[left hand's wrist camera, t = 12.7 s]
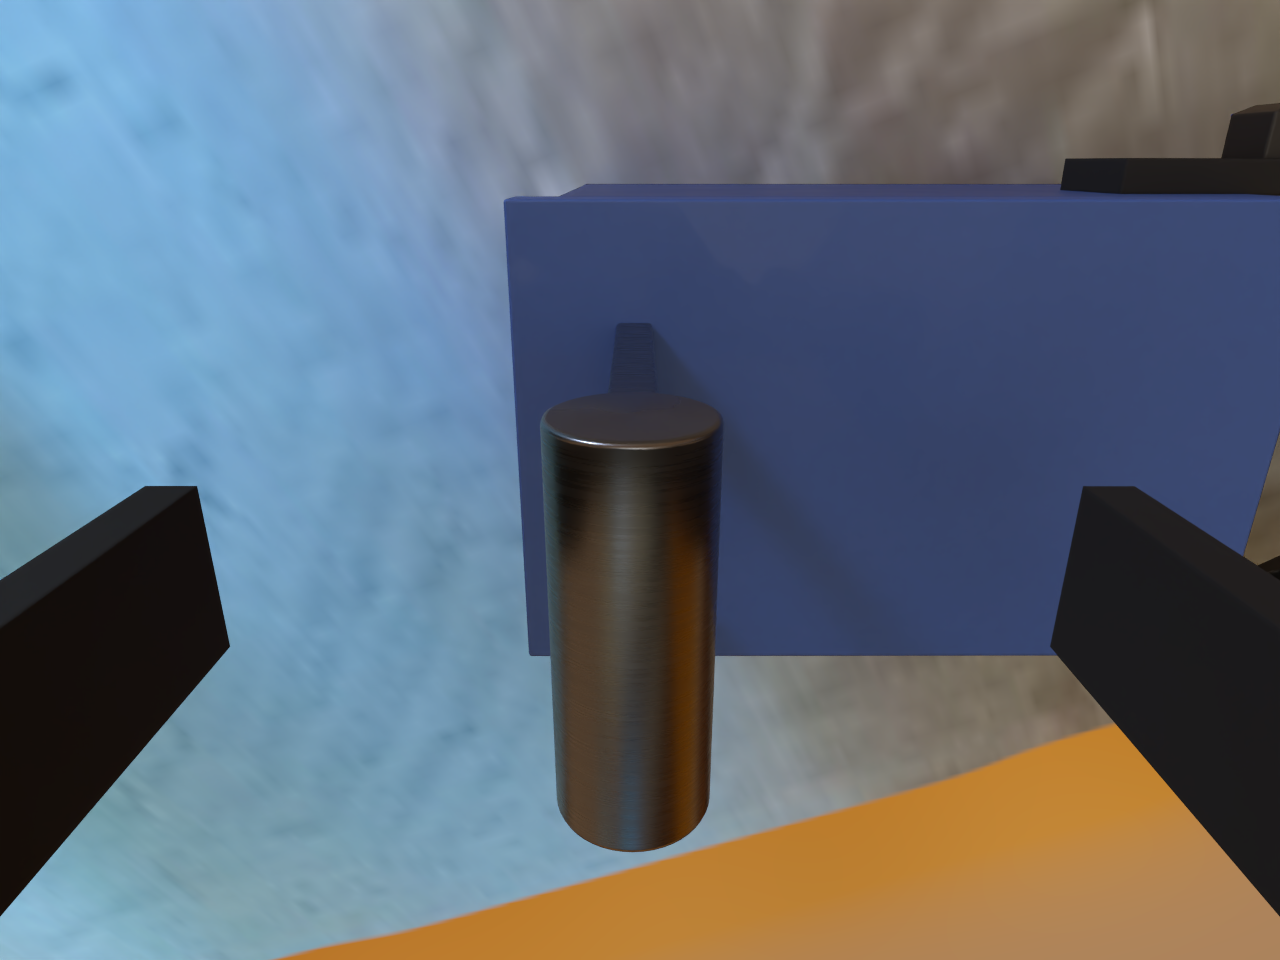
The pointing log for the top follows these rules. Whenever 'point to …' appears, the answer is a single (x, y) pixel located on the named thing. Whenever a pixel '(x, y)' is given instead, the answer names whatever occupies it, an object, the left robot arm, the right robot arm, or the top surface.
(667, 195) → the chest
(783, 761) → the top surface
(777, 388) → the lid
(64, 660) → the left robot arm
